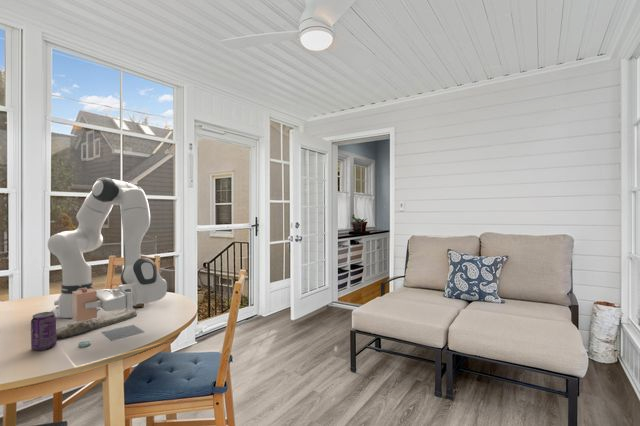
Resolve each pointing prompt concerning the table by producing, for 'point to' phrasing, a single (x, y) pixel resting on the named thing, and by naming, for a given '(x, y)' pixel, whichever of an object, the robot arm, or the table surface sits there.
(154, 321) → the table surface
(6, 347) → the table surface
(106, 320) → the long grey stone
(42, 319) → the beverage can
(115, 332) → the mat
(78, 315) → the peach block with knob
